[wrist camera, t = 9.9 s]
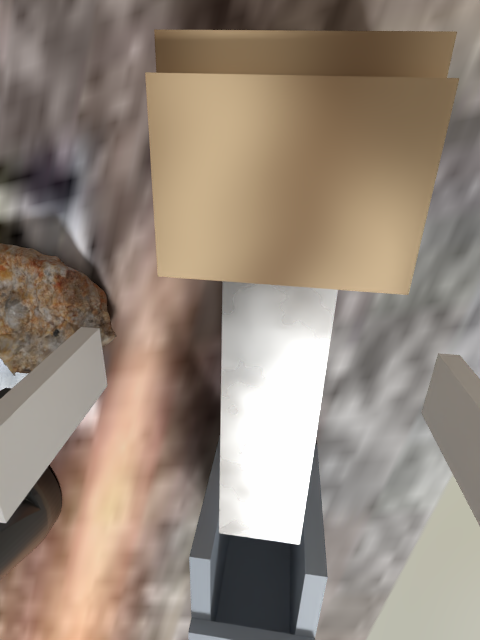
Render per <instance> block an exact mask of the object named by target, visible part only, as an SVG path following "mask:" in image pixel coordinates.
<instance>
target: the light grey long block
mask: <svg viewBox="0 0 480 640" xmlns="http://www.w3.org/2000/svg"><path fill="white" fill-rule="evenodd" d="M337 292H338V290H336V289H322V288H308V287H295V286H281V285H268V284H254V283H241V282H227V281H223V289H222V359H221V429H220V499H219V533H221V534H228V535H235V536H242V537H249V538H256V539H263V540H270V541H277V542H285V543H292V544H299V545H300V538H301V531H302V525H303V518H304V511H305V505H306V498H307V491H308V485H309V478H310V471H311V465H312V458H313V452H314V445H315V438H316V432H317V425H318V418H319V412H320V405H321V398H322V392H323V385H324V378H325V372H326V365H327V359H328V352H329V345H330V339H331V332H332V325H333V319H334V312H335V305H336V299H337Z"/></svg>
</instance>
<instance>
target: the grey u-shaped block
mask: <svg viewBox="0 0 480 640" xmlns="http://www.w3.org/2000/svg"><path fill="white" fill-rule="evenodd" d="M219 499H220V437H219V441H218V445H217V449H216V453H215V457H214V461H213V465H212V469H211V473H210V477H209V481H208V485H207V489H206V493H205V497H204V501H203V505H202V509H201V513H200V517H199V521H198V525H197V529H196V533H195V537H194V541H193V545H192V549H191V553H190V556H189V559H190V586H191V614H192V618H191V623H190V628H189V640H315V635H316V630H317V625H318V620H319V616H320V611H321V606H322V601H323V597H324V592H325V587H326V582H327V564H326V551H325V539H324V526H323V513H322V501H321V488H320V475H319V462H318V450H317V444H315V445H314V452H313V458H312V465H311V471H310V478H309V485H308V491H307V498H306V505H305V511H304V518H303V525H302V531H301V538H300V545H299V544H292V543H285V542H277V541H270V540H263V539H256V538H249V537H242V536H235V535H228V534H221V533H219Z"/></svg>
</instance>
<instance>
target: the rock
mask: <svg viewBox="0 0 480 640" xmlns="http://www.w3.org/2000/svg"><path fill="white" fill-rule="evenodd" d="M81 327H88V328H100V336H101V343H102V347H104V346H105V345H107V344H108V343H110V342H111V341H112V340H113V339H114V338H115V337H116V334H115V332H114V331H113V329H112V327H111V321H110V316H109V313H108V311H107V297H106V294H105V292H104V291H103V290H102V289H101V288H100V287H99V286H98V285H96V284H95V283H93V282H92V281H91V280H90V279H89V278H88V277H87V276H86V275H85V274H83V273H82V272H80V271H78V270H75V269H74V268H72V267H67V266H66V265H65V264H64V263H63V262H62V261H61V260H60V259H59V258H58V257H57V256H49V255H44V254H42V253H40V252H38V251H37V250H34V249H32V248H30V249H29V248H22V247H19V246H15V245H6V244H2V243H0V358H1V359H2V360H3V362H4V364H5V365H6V366H7V367H8V368H9V370H10V371H11V372H12V373H13V375H14V376H15V373H16V372H19V373H30V372H31V371H32V370H33V369H35V368H36V367H37V366H38V365H39V364H40V363H41V362H42V361H44V360H45V359H46V358H47V357H48V356H49V355H50V354H51V353H53V352H54V351H55V350H56V349H57V348H58V347H59V346H60V345H61V344H63V343H64V342H65V341H66V340H67V339H68V338H69V337H70V336H72V335H73V334H74V333H75V332H76V331H77V330H78V329H79V328H81Z"/></svg>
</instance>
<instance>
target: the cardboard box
mask: <svg viewBox="0 0 480 640" xmlns="http://www.w3.org/2000/svg"><path fill="white" fill-rule="evenodd" d="M154 32H155V52H156V72H157V73H145V75H146V92H147V108H148V124H149V141H150V157H151V174H152V190H153V206H154V223H155V239H156V255H157V272H158V276H159V277H173V278H186V279H200V280H214V281H227V282H241V283H254V284H268V285H281V286H295V287H308V288H322V289H336V290H349V291H363V292H376V293H390V294H403V295H408V294H409V290H410V286H411V281H412V277H413V273H414V269H415V264H416V260H417V256H418V252H419V247H420V243H421V239H422V235H423V230H424V226H425V222H426V218H427V213H428V209H429V205H430V201H431V196H432V192H433V188H434V184H435V179H436V175H437V171H438V167H439V162H440V158H441V154H442V150H443V145H444V141H445V137H446V133H447V128H448V124H449V120H450V116H451V111H452V107H453V103H454V99H455V94H456V90H457V86H458V82H459V78H447V74H448V70H449V65H450V61H451V56H452V52H453V48H454V43H455V39H456V34H457V32H431V31H282V30H154Z"/></svg>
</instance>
